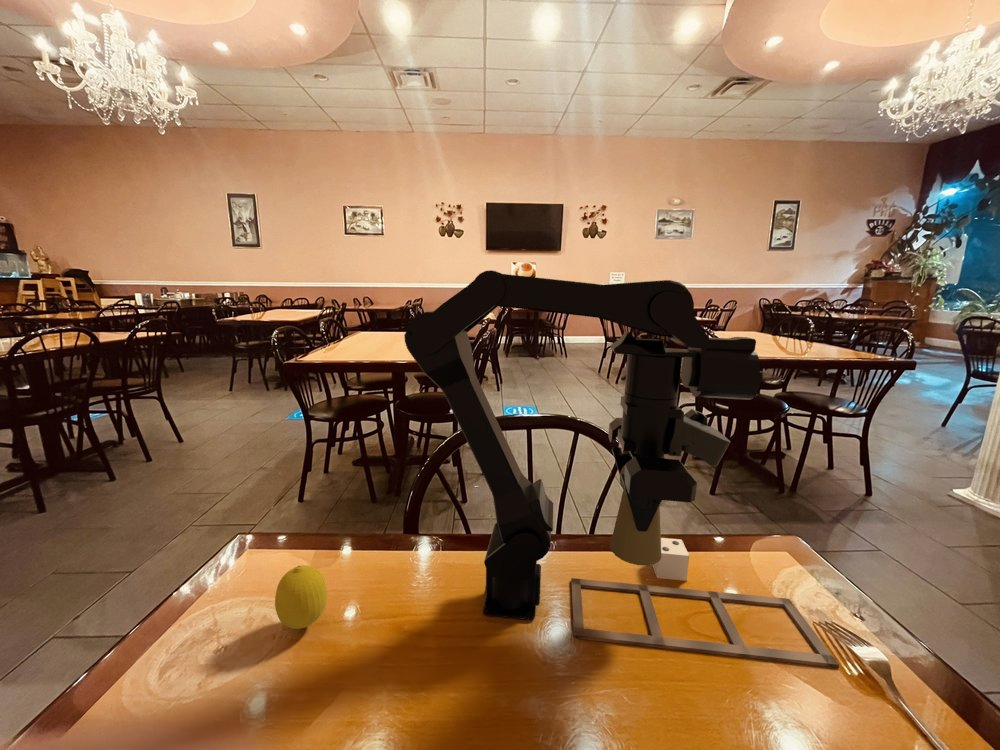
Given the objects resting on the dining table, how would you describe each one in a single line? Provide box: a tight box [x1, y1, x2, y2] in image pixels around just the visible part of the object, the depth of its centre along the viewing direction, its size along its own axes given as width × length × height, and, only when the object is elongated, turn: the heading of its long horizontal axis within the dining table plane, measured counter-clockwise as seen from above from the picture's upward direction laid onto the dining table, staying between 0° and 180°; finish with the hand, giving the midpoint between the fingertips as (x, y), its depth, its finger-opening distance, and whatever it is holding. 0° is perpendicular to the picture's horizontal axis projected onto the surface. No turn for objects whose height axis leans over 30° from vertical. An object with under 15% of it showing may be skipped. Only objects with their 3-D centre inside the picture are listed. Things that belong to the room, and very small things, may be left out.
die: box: [652, 537, 690, 582], centre depth 62 cm, size 4×4×4 cm
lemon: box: [274, 564, 328, 630], centre depth 50 cm, size 6×6×8 cm
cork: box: [609, 465, 662, 567], centre depth 51 cm, size 6×6×11 cm
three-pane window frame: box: [570, 577, 840, 669], centre depth 53 cm, size 28×10×1 cm, turn 82°
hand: (638, 520), depth 51 cm, fingers closed on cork, 4 cm apart
